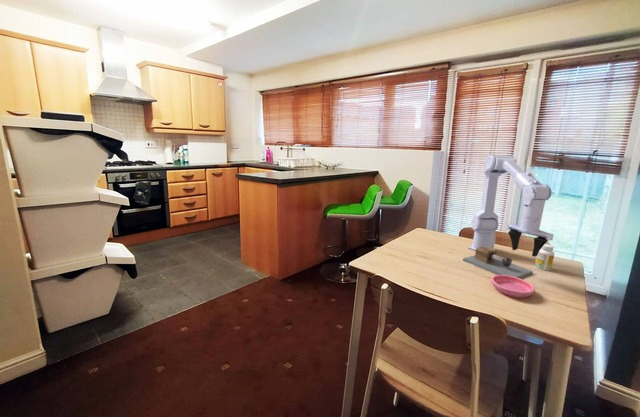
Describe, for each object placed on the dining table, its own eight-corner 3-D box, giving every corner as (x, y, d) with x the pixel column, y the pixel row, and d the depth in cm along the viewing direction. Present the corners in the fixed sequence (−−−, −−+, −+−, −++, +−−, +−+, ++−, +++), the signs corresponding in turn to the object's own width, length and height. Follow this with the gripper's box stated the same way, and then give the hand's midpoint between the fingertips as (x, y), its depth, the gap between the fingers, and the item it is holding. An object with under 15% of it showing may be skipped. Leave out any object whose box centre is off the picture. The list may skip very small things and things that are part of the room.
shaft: (485, 256, 123) (486, 248, 122) (510, 266, 114) (512, 257, 113) (479, 257, 121) (481, 249, 120) (505, 267, 112) (507, 259, 111)
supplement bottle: (548, 266, 119) (553, 244, 117) (552, 271, 114) (558, 248, 112) (533, 264, 121) (537, 242, 119) (536, 269, 116) (541, 246, 114)
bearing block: (483, 256, 125) (485, 245, 124) (494, 260, 121) (496, 249, 119) (474, 258, 122) (476, 248, 121) (485, 263, 118) (487, 252, 117)
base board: (482, 255, 129) (483, 253, 129) (532, 273, 112) (532, 271, 112) (462, 260, 122) (463, 258, 122) (512, 280, 105) (512, 278, 105)
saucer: (517, 304, 90) (519, 295, 90) (481, 285, 101) (483, 277, 101) (541, 296, 95) (543, 288, 94) (505, 280, 106) (506, 272, 106)
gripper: (504, 213, 109) (498, 247, 112) (549, 223, 96) (540, 261, 99) (515, 212, 112) (508, 245, 115) (559, 221, 100) (551, 258, 103)
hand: (524, 252), depth 107 cm, fingers open, 6 cm apart
